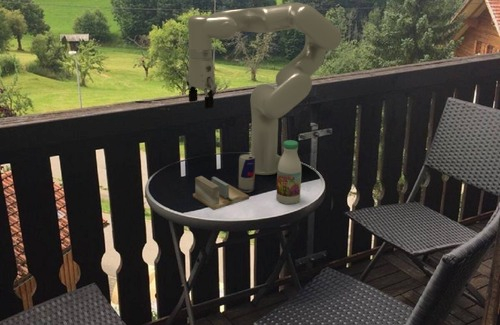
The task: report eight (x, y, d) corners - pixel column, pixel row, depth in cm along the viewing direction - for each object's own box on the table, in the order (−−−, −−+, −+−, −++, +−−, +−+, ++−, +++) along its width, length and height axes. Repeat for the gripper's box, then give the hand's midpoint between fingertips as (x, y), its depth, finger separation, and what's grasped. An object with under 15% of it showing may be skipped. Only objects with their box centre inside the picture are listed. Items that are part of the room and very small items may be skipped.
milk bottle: (277, 193, 183) (280, 137, 176) (300, 195, 182) (304, 139, 174) (274, 203, 176) (277, 145, 169) (298, 205, 175) (302, 147, 167)
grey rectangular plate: (214, 189, 182) (214, 176, 180) (233, 200, 174) (233, 187, 173) (211, 190, 181) (211, 177, 179) (230, 201, 174) (230, 188, 172)
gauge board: (227, 186, 188) (227, 167, 185) (248, 198, 179) (249, 179, 176) (193, 196, 180) (192, 176, 177) (213, 209, 171) (213, 189, 168)
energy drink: (252, 193, 183) (253, 160, 178) (237, 192, 184) (237, 158, 179) (255, 187, 187) (256, 154, 183) (240, 185, 188) (241, 153, 184)
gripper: (224, 57, 176) (224, 108, 182) (195, 49, 188) (196, 97, 195) (205, 59, 171) (205, 112, 178) (176, 51, 184) (178, 100, 190)
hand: (200, 104), depth 186 cm, fingers open, 9 cm apart
